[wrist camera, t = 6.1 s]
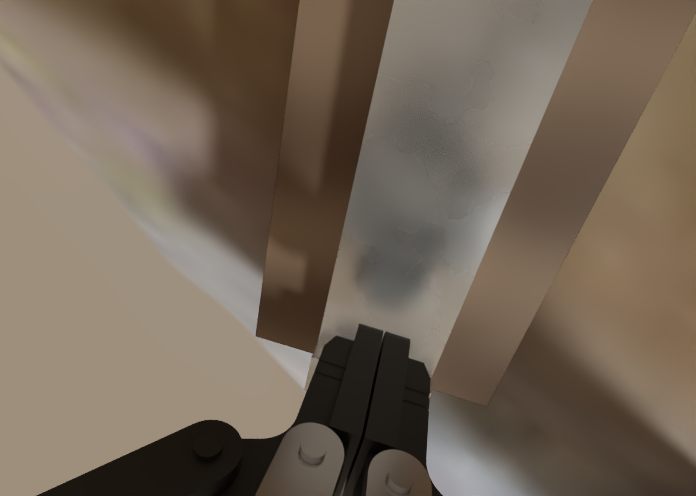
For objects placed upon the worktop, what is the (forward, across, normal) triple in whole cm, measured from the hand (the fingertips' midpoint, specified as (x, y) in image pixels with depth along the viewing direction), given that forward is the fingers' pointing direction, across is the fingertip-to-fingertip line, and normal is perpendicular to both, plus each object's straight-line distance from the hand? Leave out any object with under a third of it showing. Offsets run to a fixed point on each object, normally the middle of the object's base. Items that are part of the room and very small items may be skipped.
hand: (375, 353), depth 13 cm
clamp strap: (+3, 0, -5) cm, 6 cm away
